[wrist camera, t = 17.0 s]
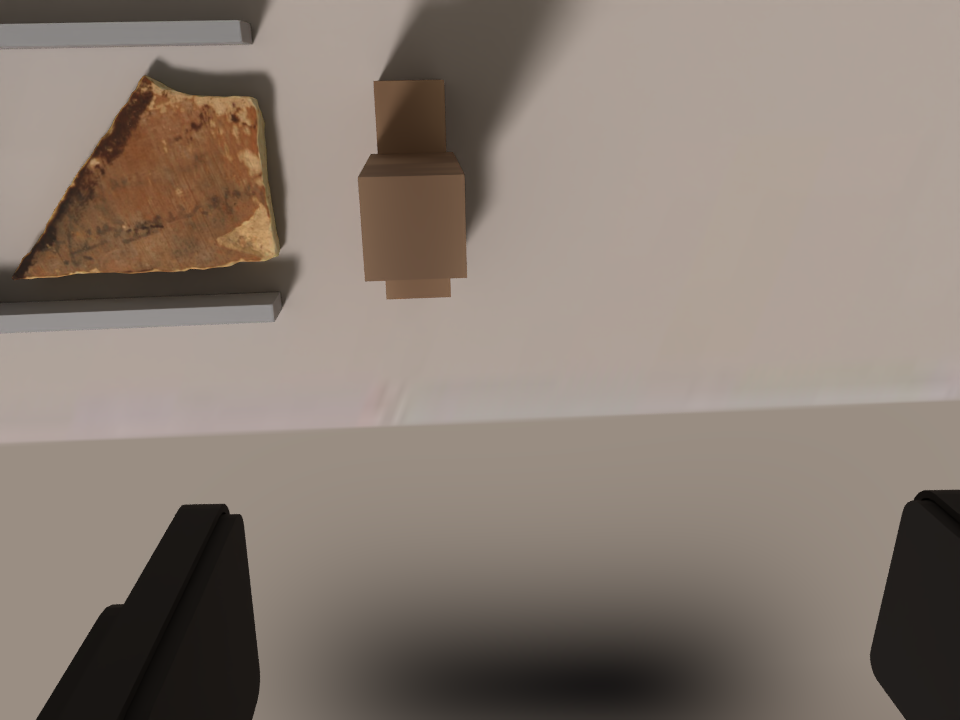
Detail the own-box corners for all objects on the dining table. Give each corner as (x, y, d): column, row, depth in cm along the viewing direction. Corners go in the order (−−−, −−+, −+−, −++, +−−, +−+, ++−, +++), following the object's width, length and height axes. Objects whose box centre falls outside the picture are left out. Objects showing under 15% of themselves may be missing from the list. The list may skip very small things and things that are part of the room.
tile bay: (250, 23, 30) (239, 19, 28) (282, 308, 34) (274, 322, 32) (-115, 29, 29) (-151, 26, 27) (-39, 321, 33) (-66, 336, 31)
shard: (27, 272, 33) (7, 282, 32) (-18, 82, 31) (-44, 82, 29) (285, 258, 34) (278, 267, 32) (261, 71, 31) (253, 70, 30)
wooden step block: (446, 79, 32) (462, 80, 21) (452, 272, 34) (468, 356, 24) (372, 80, 31) (351, 82, 21) (384, 275, 34) (370, 361, 24)
